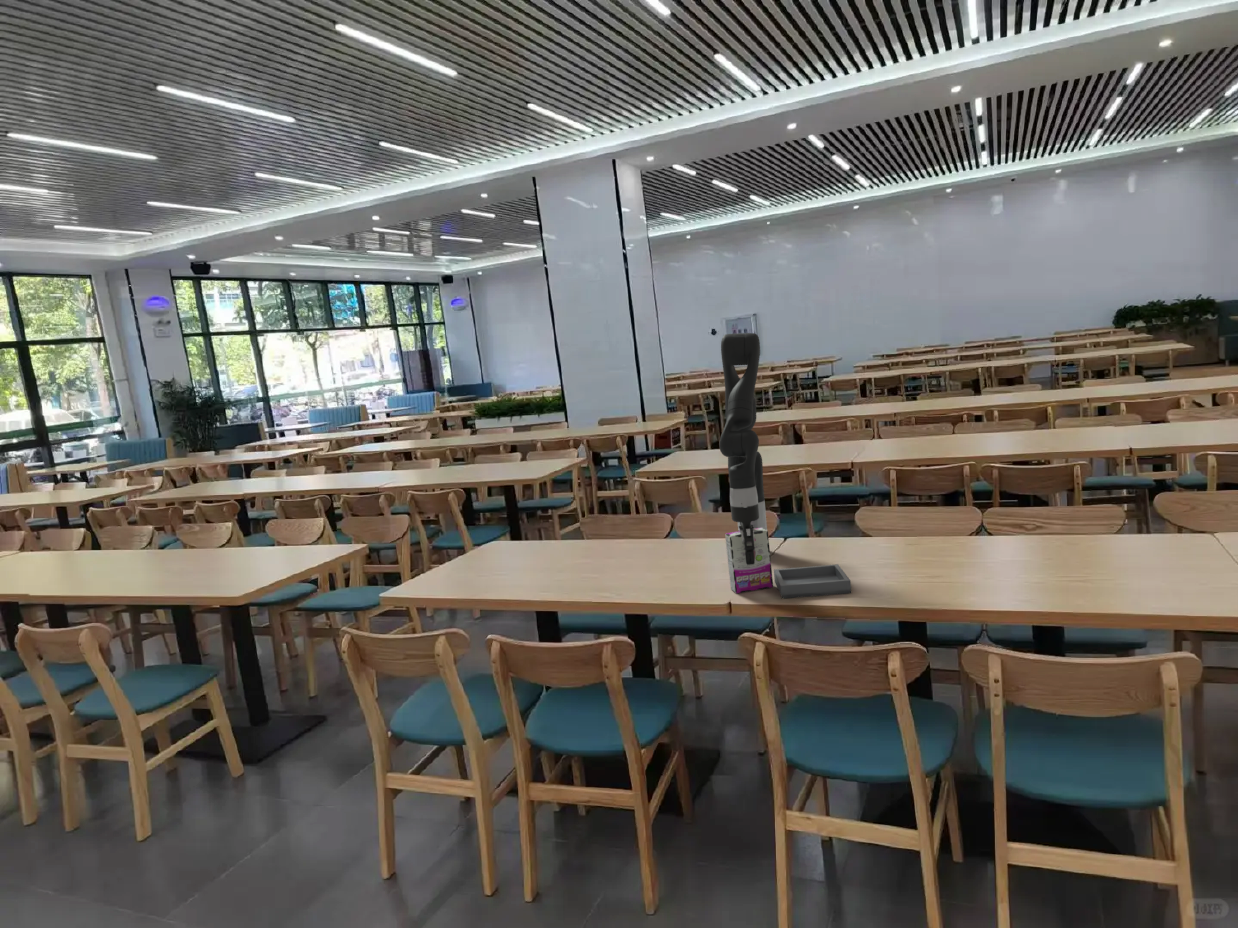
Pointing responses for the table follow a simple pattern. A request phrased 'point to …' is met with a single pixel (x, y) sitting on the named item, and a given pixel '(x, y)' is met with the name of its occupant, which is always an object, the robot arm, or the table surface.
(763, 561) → the candy bar box
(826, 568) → the tray
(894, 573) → the table surface
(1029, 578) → the table surface
